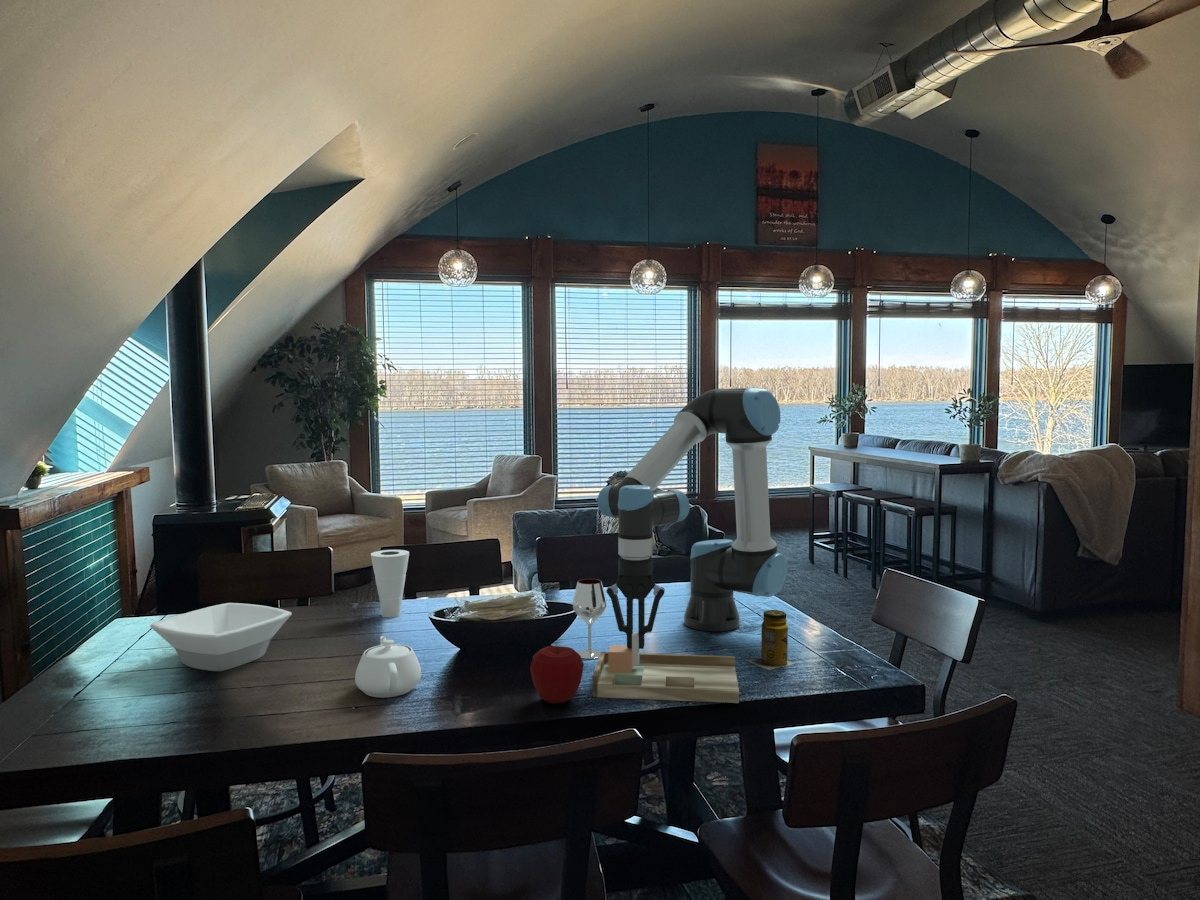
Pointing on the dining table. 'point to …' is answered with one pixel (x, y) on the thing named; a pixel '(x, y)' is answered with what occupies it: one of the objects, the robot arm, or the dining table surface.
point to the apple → (556, 673)
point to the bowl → (222, 634)
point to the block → (620, 659)
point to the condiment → (773, 641)
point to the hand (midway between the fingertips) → (635, 662)
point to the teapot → (388, 670)
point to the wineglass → (589, 608)
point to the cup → (390, 579)
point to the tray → (670, 678)
